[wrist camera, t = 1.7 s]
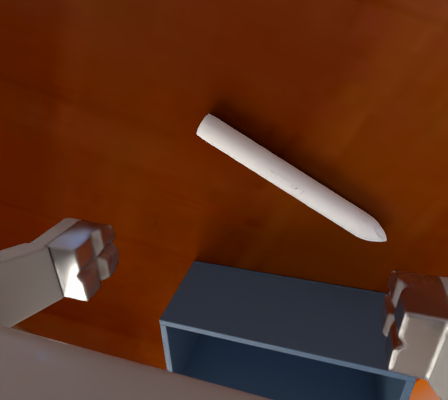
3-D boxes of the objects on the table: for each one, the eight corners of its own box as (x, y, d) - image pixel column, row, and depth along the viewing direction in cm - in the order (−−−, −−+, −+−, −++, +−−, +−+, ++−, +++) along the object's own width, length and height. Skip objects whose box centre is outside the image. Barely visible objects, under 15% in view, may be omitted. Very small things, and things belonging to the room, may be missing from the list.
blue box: (194, 260, 37) (159, 319, 29) (399, 295, 31) (417, 377, 24) (199, 327, 41) (170, 392, 34) (378, 367, 36) (388, 454, 29)
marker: (394, 225, 28) (398, 241, 26) (376, 241, 29) (379, 258, 28) (212, 110, 28) (202, 117, 26) (201, 130, 29) (192, 139, 27)
